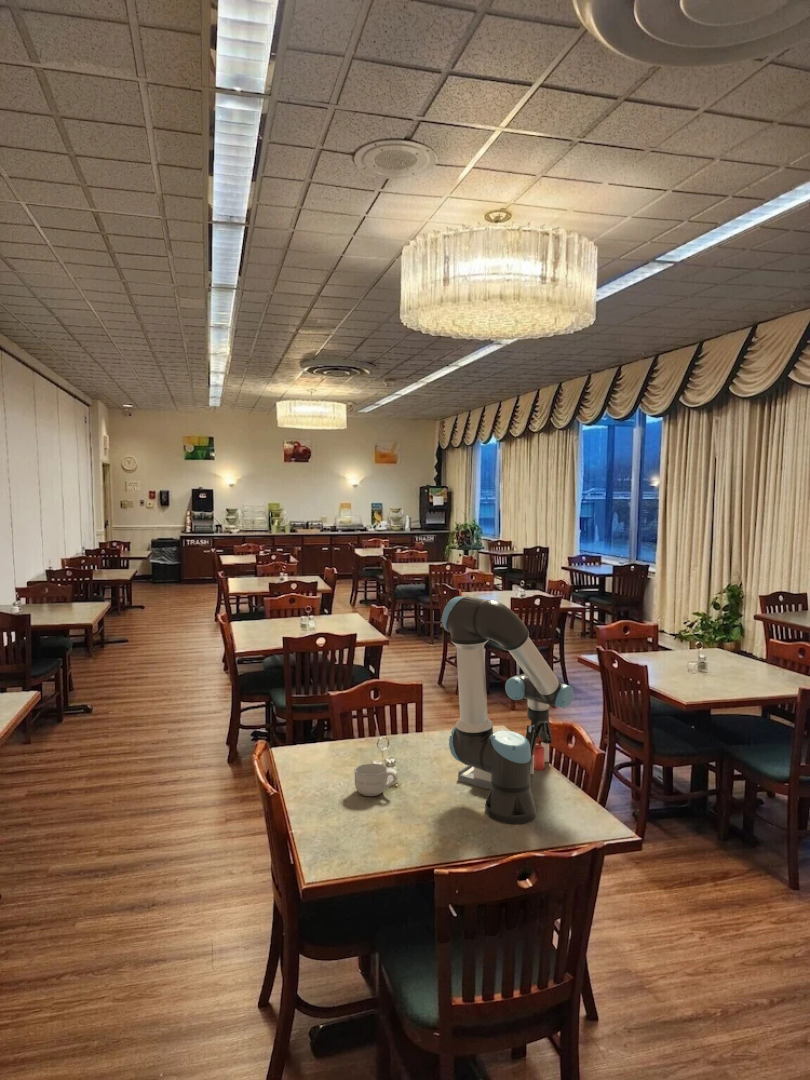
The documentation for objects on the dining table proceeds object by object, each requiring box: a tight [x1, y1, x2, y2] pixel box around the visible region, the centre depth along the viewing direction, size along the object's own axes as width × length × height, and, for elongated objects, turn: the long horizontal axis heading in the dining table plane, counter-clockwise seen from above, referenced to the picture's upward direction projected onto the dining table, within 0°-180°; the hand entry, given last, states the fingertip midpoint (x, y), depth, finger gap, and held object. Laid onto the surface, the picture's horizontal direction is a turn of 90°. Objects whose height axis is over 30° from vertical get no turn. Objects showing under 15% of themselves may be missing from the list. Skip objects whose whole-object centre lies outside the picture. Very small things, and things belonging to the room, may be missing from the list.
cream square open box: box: [474, 767, 491, 782], centre depth 219 cm, size 9×9×6 cm
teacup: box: [353, 762, 398, 797], centre depth 211 cm, size 14×11×8 cm
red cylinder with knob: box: [533, 742, 545, 771], centre depth 231 cm, size 5×5×8 cm
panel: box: [457, 765, 491, 790], centre depth 227 cm, size 15×26×3 cm, turn 145°
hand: (537, 767), depth 231 cm, fingers open, 12 cm apart
